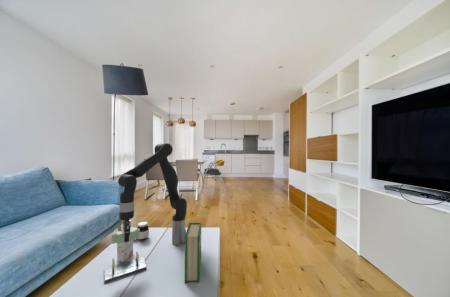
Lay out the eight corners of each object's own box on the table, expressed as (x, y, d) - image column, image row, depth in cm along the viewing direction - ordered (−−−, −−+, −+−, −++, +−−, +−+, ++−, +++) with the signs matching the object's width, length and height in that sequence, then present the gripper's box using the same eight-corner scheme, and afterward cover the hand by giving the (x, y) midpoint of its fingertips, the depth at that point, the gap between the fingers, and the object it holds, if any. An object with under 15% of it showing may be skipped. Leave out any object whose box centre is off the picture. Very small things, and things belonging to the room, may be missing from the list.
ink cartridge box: (126, 253, 120) (126, 230, 121) (133, 254, 119) (133, 231, 120) (116, 260, 112) (116, 236, 112) (123, 261, 111) (123, 237, 111)
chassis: (142, 259, 114) (142, 246, 114) (146, 269, 104) (146, 256, 104) (104, 270, 103) (104, 257, 103) (104, 283, 93) (104, 268, 93)
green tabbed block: (138, 235, 110) (138, 227, 110) (140, 238, 106) (140, 230, 106) (111, 241, 102) (111, 232, 102) (111, 245, 98) (111, 235, 98)
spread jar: (150, 239, 140) (150, 223, 140) (134, 244, 132) (134, 228, 133) (144, 233, 149) (144, 219, 149) (129, 238, 141) (129, 223, 141)
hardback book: (199, 282, 94) (199, 235, 95) (184, 283, 94) (185, 236, 94) (200, 261, 112) (201, 222, 112) (188, 262, 111) (189, 222, 112)
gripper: (135, 212, 100) (135, 243, 100) (132, 205, 112) (131, 233, 112) (120, 214, 96) (119, 247, 96) (118, 207, 108) (117, 236, 108)
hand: (126, 239), depth 104 cm, fingers closed on green tabbed block, 4 cm apart
